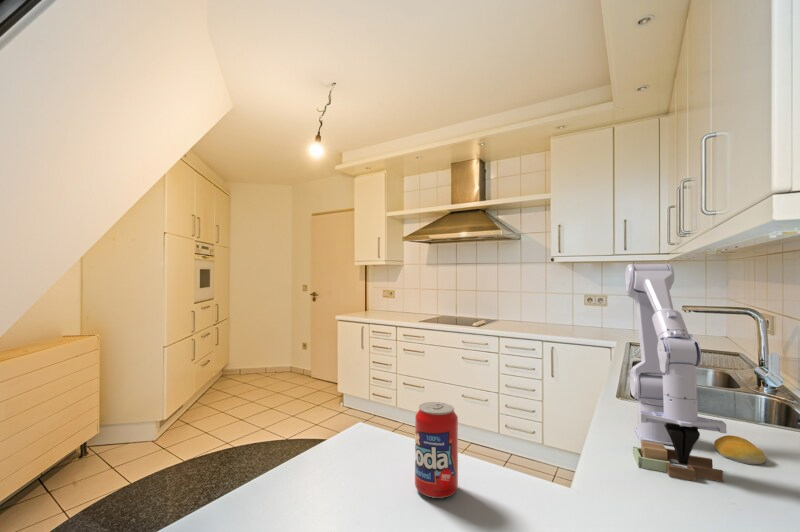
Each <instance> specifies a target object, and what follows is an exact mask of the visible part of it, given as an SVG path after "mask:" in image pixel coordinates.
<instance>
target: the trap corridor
mask: <svg viewBox="0 0 800 532" xmlns="http://www.w3.org/2000/svg"><path fill="white" fill-rule="evenodd" d="M632 449H633V450H632V451H633V458H634V460H635V462H636V466H637V467H638V469H639V468H640V469H644V470H652V471H658V472H663V473H667V475H668V477H670V478H674V479H681V480H687V481H692V482H696V481H697V480H696V478H697V479H704V480H709V481H714V482H715V481H716V482H722V483H723V482H724V473H723V472H724V471H723V470H722V469H717V468H713V466H714V465H713V459H712V458H711V457H703V456H697V455H691V454H690V456H689V459H688V464H687V465H686V464H680V463H679V462H678V461H677V457H676V452H675V449H674V448H666V447H665V449H666V450H667V460H668V461H663V460H657V459H650V458H644V457H641V447H638V446H633V448H632ZM672 464H676V466H675V465H672ZM677 465H682V466H687V467H681V466H677Z"/></svg>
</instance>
